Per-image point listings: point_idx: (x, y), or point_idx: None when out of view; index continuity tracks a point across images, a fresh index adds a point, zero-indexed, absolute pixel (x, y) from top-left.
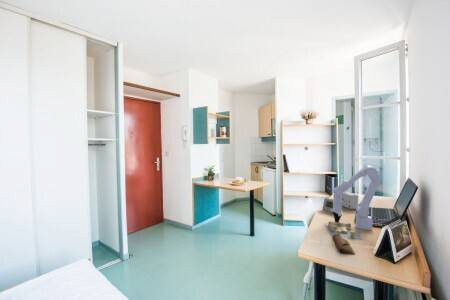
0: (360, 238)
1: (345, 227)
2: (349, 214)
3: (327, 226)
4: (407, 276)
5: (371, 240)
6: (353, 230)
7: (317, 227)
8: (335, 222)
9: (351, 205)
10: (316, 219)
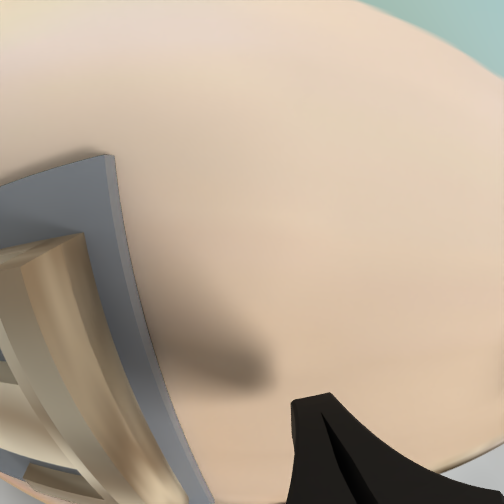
0: None
1: (87, 475)
2: None
3: (54, 211)
4: None
5: (41, 500)
6: (57, 496)
7: (35, 35)
8: (75, 430)
9: None
10: (462, 59)
